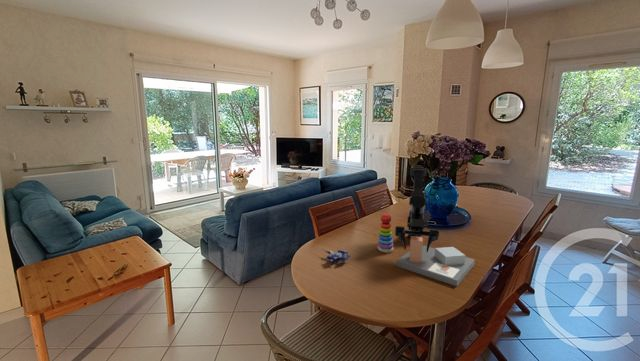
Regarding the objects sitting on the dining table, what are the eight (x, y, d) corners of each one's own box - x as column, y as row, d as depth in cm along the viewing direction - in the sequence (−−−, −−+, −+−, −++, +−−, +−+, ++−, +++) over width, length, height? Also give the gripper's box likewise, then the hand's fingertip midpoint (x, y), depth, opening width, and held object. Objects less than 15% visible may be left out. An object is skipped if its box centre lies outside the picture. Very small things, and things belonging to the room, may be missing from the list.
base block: (434, 256, 138) (435, 248, 137) (452, 254, 139) (453, 246, 138) (445, 265, 129) (446, 256, 128) (464, 263, 131) (465, 255, 130)
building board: (395, 265, 134) (396, 260, 134) (418, 248, 152) (418, 243, 151) (456, 286, 117) (457, 280, 117) (474, 264, 135) (474, 258, 135)
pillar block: (409, 256, 138) (410, 234, 136) (421, 257, 136) (422, 235, 134) (409, 261, 133) (410, 238, 131) (421, 262, 132) (423, 239, 130)
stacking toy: (394, 247, 153) (395, 212, 150) (392, 254, 146) (394, 217, 142) (378, 245, 156) (379, 211, 152) (376, 252, 149) (377, 215, 145)
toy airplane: (320, 254, 146) (320, 247, 146) (348, 254, 147) (348, 247, 146) (320, 267, 134) (320, 259, 133) (352, 266, 134) (352, 259, 133)
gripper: (396, 209, 137) (394, 241, 129) (440, 212, 132) (440, 246, 124) (396, 220, 146) (394, 250, 138) (437, 223, 141) (437, 255, 133)
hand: (416, 250), depth 133 cm, fingers open, 9 cm apart
